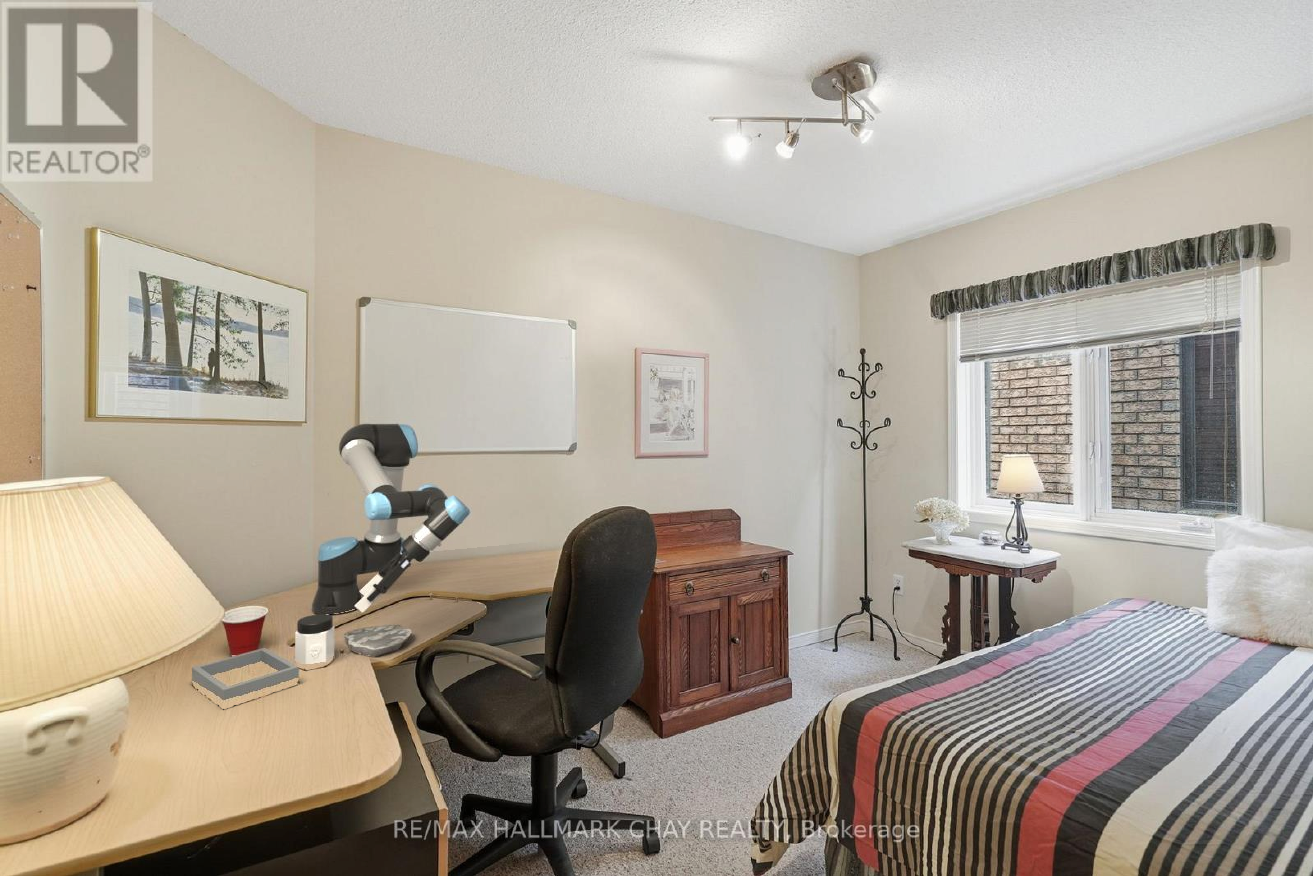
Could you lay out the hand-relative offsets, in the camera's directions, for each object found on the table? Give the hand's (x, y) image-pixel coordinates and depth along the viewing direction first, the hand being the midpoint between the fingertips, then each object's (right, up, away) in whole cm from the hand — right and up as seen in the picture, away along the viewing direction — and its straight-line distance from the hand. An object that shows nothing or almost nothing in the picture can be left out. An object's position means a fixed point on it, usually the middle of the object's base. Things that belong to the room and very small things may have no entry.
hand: (360, 601), depth 158 cm
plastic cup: (-32, -15, +1) cm, 35 cm away
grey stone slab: (0, -16, +11) cm, 19 cm away
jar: (-10, -16, -3) cm, 19 cm away
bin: (-20, -16, -17) cm, 30 cm away
